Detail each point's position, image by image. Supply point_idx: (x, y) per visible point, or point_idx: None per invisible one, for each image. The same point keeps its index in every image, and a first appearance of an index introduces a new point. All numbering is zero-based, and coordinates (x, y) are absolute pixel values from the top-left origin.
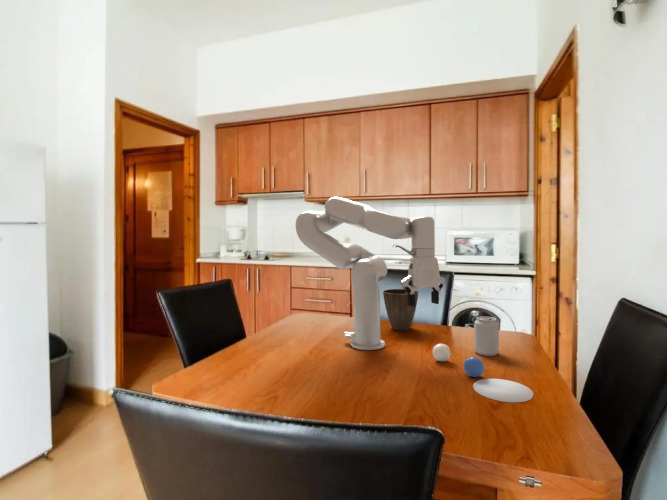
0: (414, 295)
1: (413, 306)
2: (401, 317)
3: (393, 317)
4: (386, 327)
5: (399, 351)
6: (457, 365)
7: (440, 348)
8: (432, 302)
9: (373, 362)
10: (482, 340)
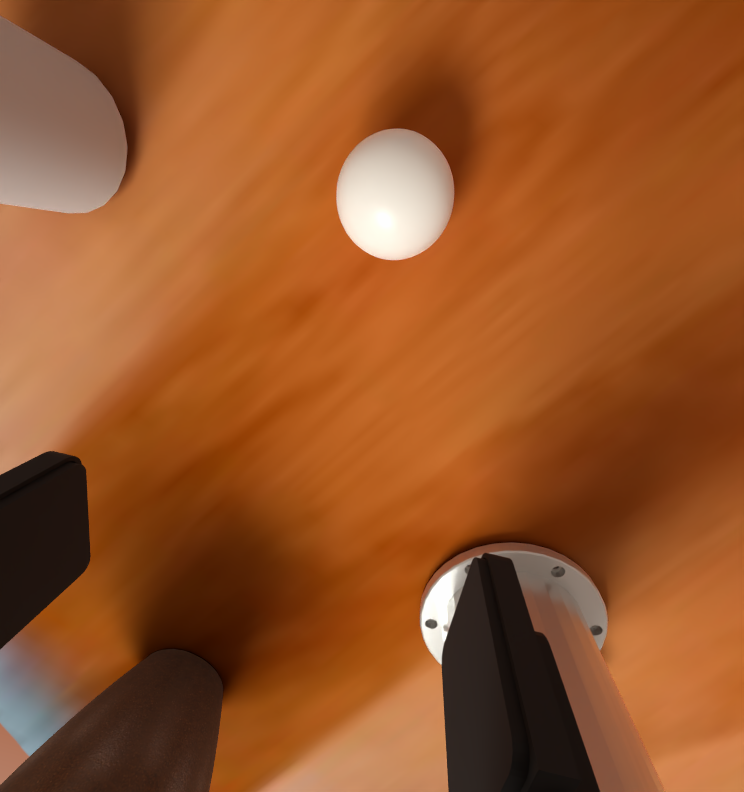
0: (544, 743)
1: (504, 557)
2: (174, 725)
3: (206, 752)
4: (229, 724)
5: (454, 461)
6: (381, 88)
7: (433, 163)
8: (86, 547)
9: (706, 422)
10: (47, 77)
